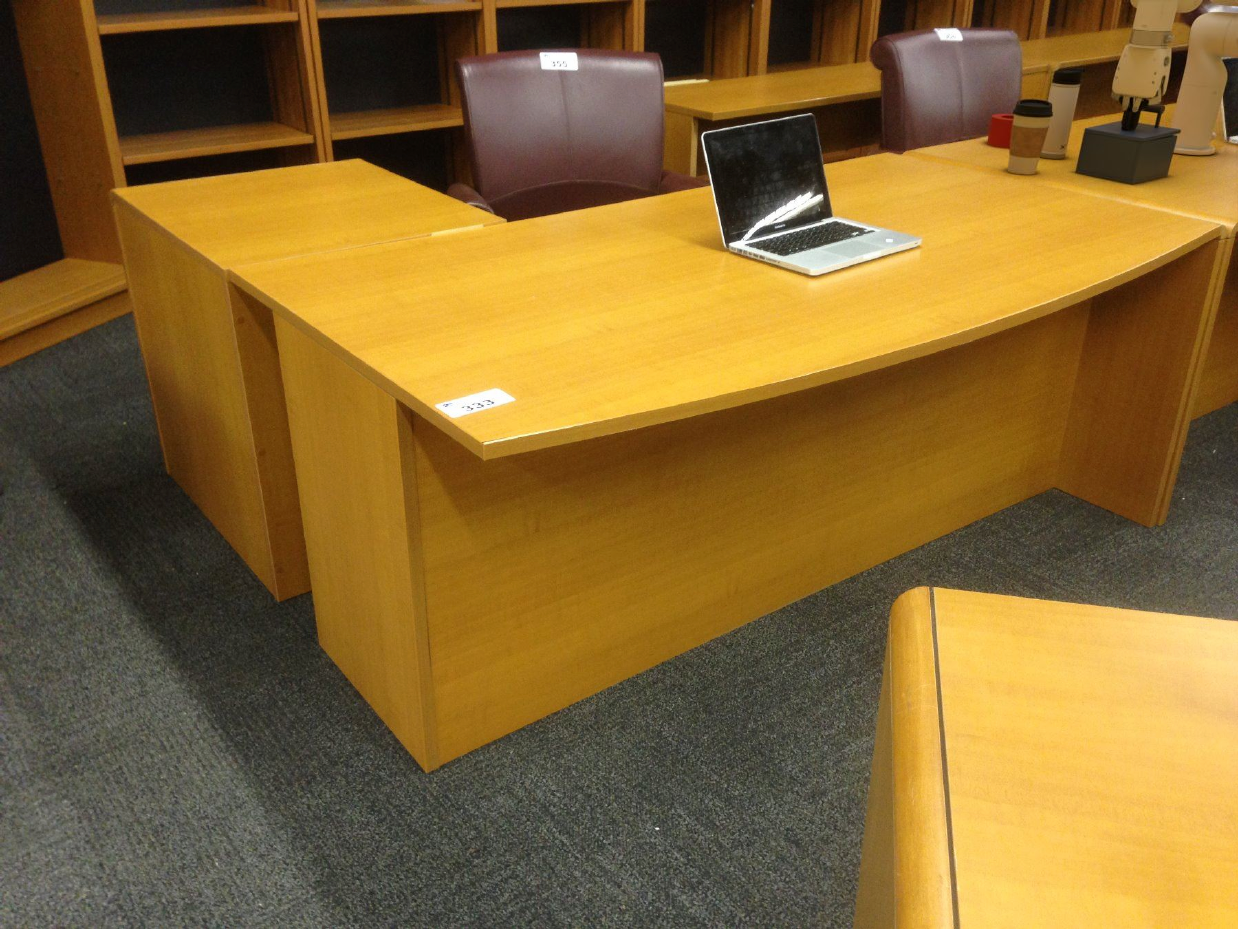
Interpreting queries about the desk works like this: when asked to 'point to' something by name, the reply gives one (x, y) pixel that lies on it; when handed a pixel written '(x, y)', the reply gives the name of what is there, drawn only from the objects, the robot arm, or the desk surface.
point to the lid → (1142, 130)
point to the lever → (1000, 130)
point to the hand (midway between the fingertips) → (1128, 129)
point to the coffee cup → (1028, 135)
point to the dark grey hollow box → (1125, 158)
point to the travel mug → (1061, 111)
